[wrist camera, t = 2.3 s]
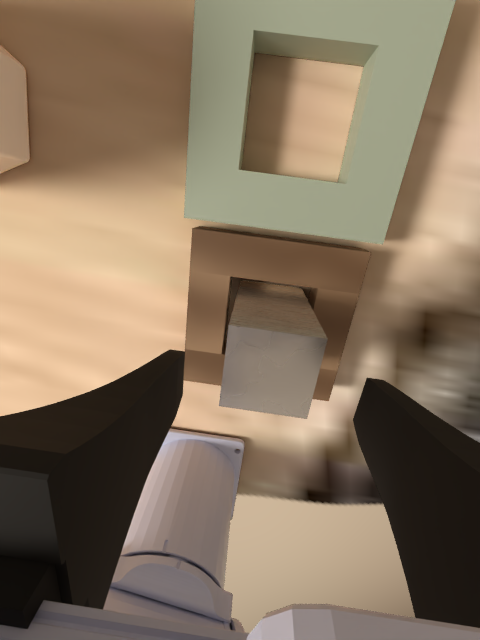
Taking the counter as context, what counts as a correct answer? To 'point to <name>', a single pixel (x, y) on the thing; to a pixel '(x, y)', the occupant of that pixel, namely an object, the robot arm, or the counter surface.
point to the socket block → (273, 266)
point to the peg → (272, 351)
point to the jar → (13, 113)
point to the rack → (366, 126)
